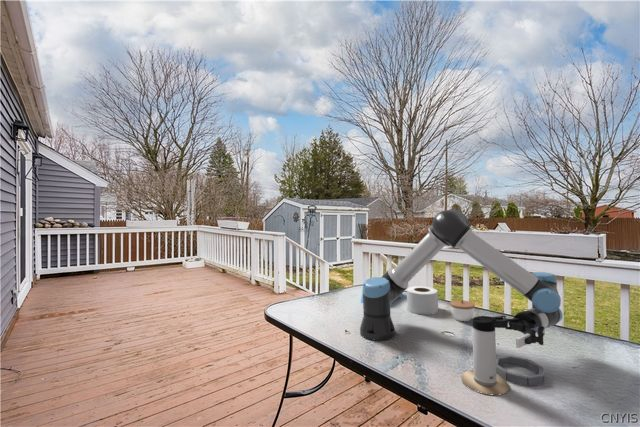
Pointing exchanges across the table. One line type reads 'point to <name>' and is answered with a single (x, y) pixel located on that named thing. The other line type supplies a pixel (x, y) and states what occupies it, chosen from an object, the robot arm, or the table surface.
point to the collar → (518, 378)
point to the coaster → (495, 390)
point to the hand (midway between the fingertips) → (494, 335)
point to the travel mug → (484, 350)
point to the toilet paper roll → (422, 300)
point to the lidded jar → (462, 310)
